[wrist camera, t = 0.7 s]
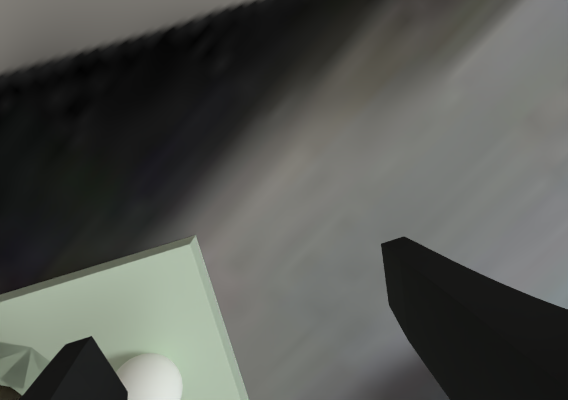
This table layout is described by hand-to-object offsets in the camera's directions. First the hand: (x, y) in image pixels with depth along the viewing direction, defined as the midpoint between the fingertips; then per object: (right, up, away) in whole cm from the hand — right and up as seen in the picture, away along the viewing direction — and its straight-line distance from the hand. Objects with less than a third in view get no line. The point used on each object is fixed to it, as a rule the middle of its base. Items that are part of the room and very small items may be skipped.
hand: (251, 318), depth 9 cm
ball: (-7, -8, +12) cm, 16 cm away
